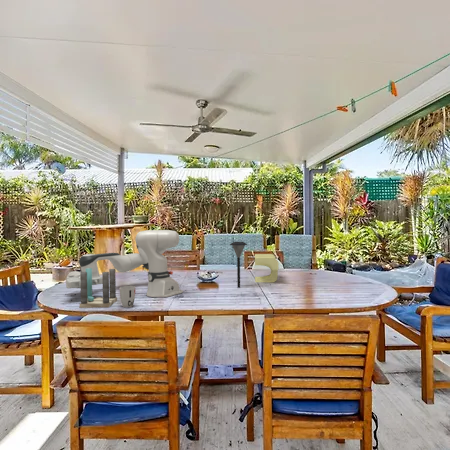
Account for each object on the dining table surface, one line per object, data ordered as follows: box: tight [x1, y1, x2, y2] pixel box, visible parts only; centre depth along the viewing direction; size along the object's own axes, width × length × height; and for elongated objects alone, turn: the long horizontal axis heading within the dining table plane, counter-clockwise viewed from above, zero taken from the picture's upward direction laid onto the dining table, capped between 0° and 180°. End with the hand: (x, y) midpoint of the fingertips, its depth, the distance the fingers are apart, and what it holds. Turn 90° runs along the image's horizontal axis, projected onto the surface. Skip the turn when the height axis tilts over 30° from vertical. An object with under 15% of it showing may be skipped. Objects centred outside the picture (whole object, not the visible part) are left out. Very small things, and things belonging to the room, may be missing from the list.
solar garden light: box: [229, 241, 248, 289], centre depth 228 cm, size 12×12×30 cm
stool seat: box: [78, 268, 118, 309], centre depth 188 cm, size 16×16×18 cm
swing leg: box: [86, 268, 95, 301], centre depth 189 cm, size 11×3×16 cm, turn 27°
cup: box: [119, 285, 136, 309], centre depth 182 cm, size 8×8×10 cm
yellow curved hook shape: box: [254, 253, 280, 283], centre depth 253 cm, size 30×16×18 cm, turn 175°
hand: (90, 283), depth 193 cm, fingers open, 5 cm apart
